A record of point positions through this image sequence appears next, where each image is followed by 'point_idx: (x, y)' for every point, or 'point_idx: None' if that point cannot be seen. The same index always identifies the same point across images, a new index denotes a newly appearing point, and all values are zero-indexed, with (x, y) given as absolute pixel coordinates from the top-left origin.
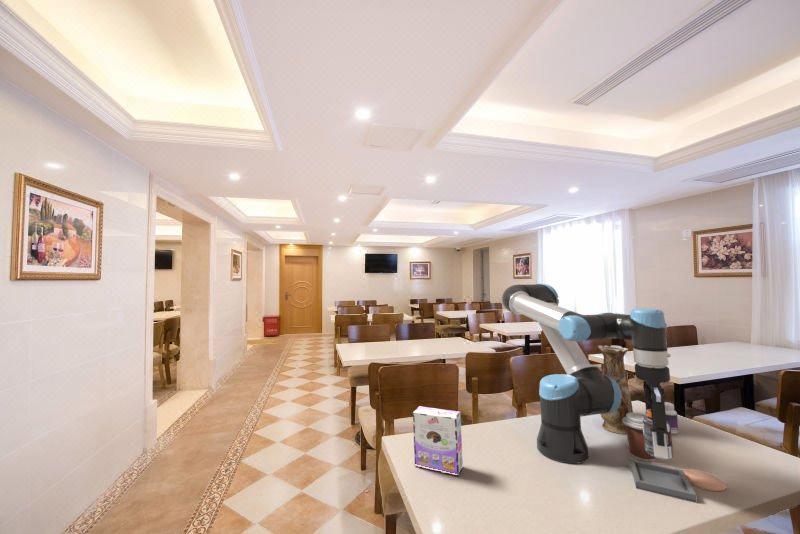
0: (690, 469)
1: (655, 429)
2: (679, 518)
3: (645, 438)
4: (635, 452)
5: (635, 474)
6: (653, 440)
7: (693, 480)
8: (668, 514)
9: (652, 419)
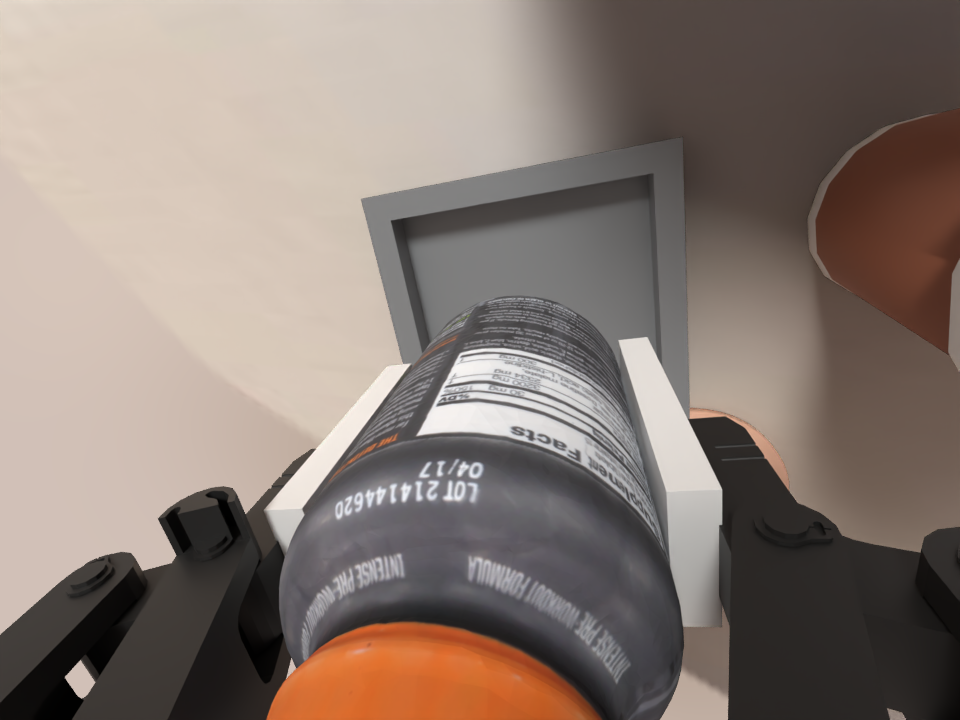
0: (779, 464)
1: (51, 594)
2: (259, 364)
3: (440, 351)
4: (856, 169)
5: (447, 193)
6: (330, 436)
7: None
8: (254, 329)
9: (128, 689)
